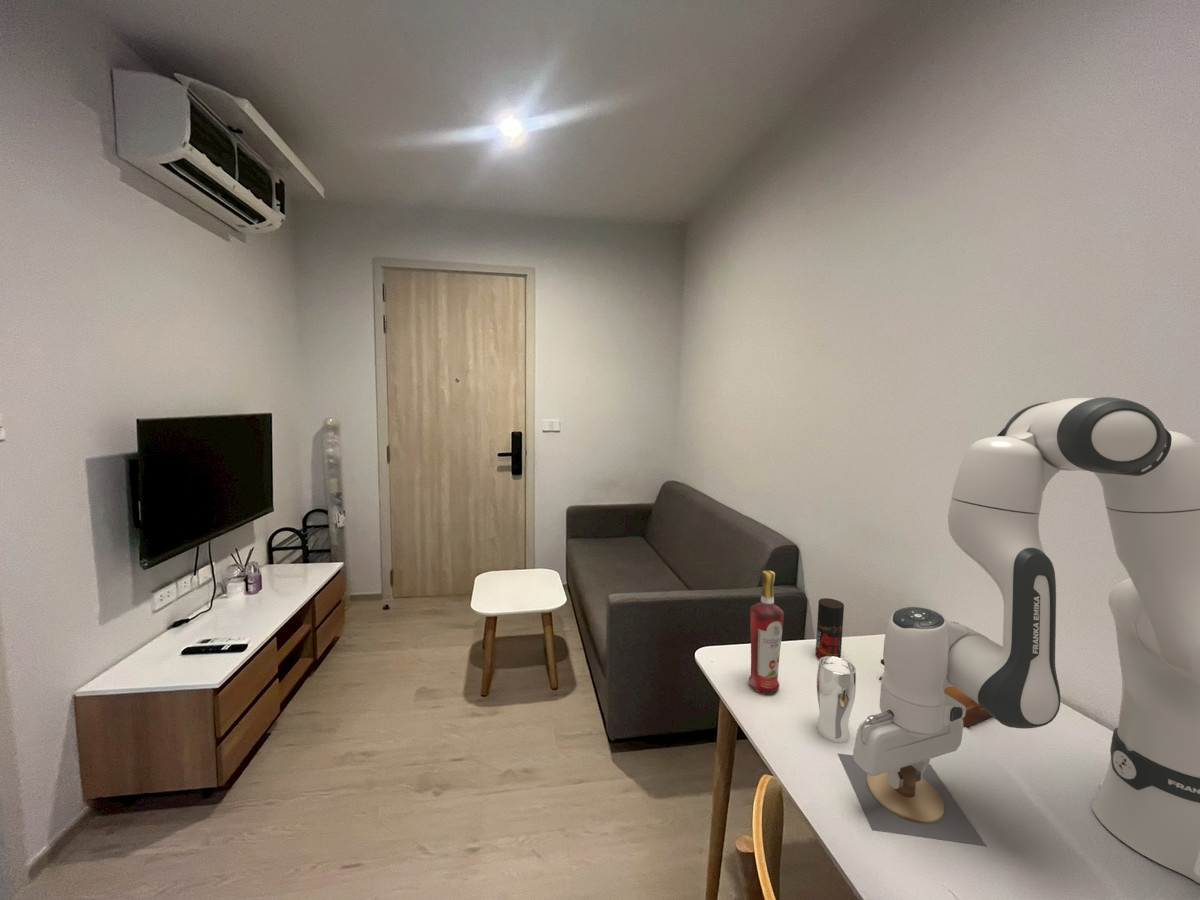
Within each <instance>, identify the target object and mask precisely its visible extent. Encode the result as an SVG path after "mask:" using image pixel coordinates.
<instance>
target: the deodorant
mask: <svg viewBox="0 0 1200 900" xmlns="http://www.w3.org/2000/svg"><path fill="white" fill-rule="evenodd" d="M817 604H818V608H817V621H816V622H817V625H816V626H817V627H816V643H815V657H816V659H817V660H818V661H819V660H820V658H822V657H825V656H834V657H839V658H842V645H843V644H842V643H843V630H844V629H843V628H844V627H843V626H844V615H845V614H844V611H845V604H844V603H843V602H842V601H840V600H838V599H834V598H829V597H828V598H826V597H825V598H820V599H818V603H817Z"/></svg>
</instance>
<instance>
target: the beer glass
mask: <svg viewBox="0 0 1200 900" xmlns="http://www.w3.org/2000/svg"><path fill="white" fill-rule="evenodd" d="M856 670H857V669H856V666H855V665H854V664H853V663H852V662H851V661H848V660H846V659H844V658H842V657H841V658H839V657H834V656H825V657H822V658H820V660H819V659H818V667H817V675H816V694H817V701H818V709H819V711H818V712H819V713H818V714H819V716H818V720H817V723H816V731H817V733H818V735H819V736H821V737H822V738H823V739H825V740H827V741H830V742H832V743H836V744H845V743H848V742H849V741H850V739H851V735H850V730H849V729H850V728H849V722H850V717H851V713H852V709H853V706H854V703H855V698H856V690H857V687H856V686H857V677H856Z"/></svg>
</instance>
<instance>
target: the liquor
mask: <svg viewBox="0 0 1200 900" xmlns="http://www.w3.org/2000/svg"><path fill="white" fill-rule="evenodd" d="M761 573H762V576H761V580H762V589H761V595H760V596H761V597H760V602H756V603H754V604H753V605H751V606H750V609H749V610H750V614H749V615H750V619H749V621H750V624H749V625H750V629H749V630H750V675H749V677H748V682H749V684H750V685H751V686H752V688H754V689H755V690H756V691H757V690H758V691H757V692H759V691H760V693H762V692H764V693H763V694H771V693H772V692H774V691H776V690H778V689H779V688H780V682H779V679H778V677H779V666H780V655H781V646H782V636H783V626H784V617H785V615H784V614H785V612H784V610H783V609H781V608H780V606H778V605H776V604H775V596H774V585H775V584H774V583H775V581H776V580H775V579H776V578H775V577H776V573H775V572H774V571H772V570H763V571H762V572H761ZM770 692H771V693H770Z"/></svg>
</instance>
